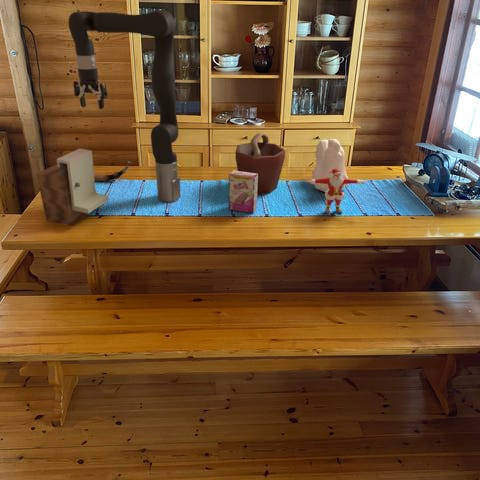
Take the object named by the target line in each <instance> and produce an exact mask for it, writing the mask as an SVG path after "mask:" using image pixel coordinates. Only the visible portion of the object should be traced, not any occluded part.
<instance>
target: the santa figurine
mask: <svg viewBox="0 0 480 480" xmlns="http://www.w3.org/2000/svg"><path fill="white" fill-rule="evenodd" d="M331 172H333V173H332V174H333V177H330V178H323V179H313V178H312V179H309V180H305V182H304V183H308V184H311V185H312V184H313V185H314V184H315V183H321V184H328V187H329V190H328V191H326V192H325V193H324V197H325V200H326V203H325V207H326V208H325V210H324V214H330V209H331V207H332V204H333V203H334V202H335V203H334V207H335V213H337V214H342V213H343V210H341V208H340V207H341V203H342V200H343V199H344V198H345V192H343V191H342V190H343V189H344V188H343V186H344V184H348V185H350V184H351V185H352V184H356V185H361V184H362V185H365V183H367V182H366V181H365V180H360V179H358V178H357V179H354V178H348V179H347V178H342V177H341V176H340V175H341V171H340V170H339V169H333V170H332V171H331ZM331 172H329V173H331ZM342 188H343V189H342ZM341 189H342V190H341Z"/></svg>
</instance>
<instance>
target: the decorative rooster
mask: <svg viewBox="0 0 480 480" xmlns="http://www.w3.org/2000/svg"><path fill="white" fill-rule="evenodd" d="M314 155H315V166H314V169H313V170H312V172H311V173H312V179H323V178H330V177H333V174H332V173H333V172H331V171H332V170H333V169H339V170H340V171H341V175H340V176H341V177H342V178H347V179H349V177H348V175H347V170H346V167H345V166H346V165H345V151H344V148H343V147H342V146H341V143H340V142H339V140H338V139H336V138H330V139H329V140H328V139H321V140H319V141H318V143H317V145H316V149H315V154H314ZM329 172H331V173H329ZM313 186H314V188H315V189H317V190H319V191H320V192H326V191H328V190H329V187H328V184H321V183H315V184H313ZM347 186H349V184H344V186H343V188H342V189H341V191H342V190H343V189H344V188H345V187H347Z"/></svg>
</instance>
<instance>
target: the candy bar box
mask: <svg viewBox="0 0 480 480" xmlns="http://www.w3.org/2000/svg"><path fill="white" fill-rule="evenodd" d="M228 180H229V181H228V210H229V211H235V212H241V213H247V214H254V213H255V212H256V211H257V208H258V194H257V187H258V174H256V173H249V172H242V171H238V170H234V169H233V170H231V171H230V172H229V174H228Z"/></svg>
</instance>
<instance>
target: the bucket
mask: <svg viewBox="0 0 480 480" xmlns="http://www.w3.org/2000/svg"><path fill="white" fill-rule="evenodd" d="M260 139H262V142H261V141H260ZM269 142H270V141H269V136H268V135H267V134H264V133H256V134H255V135H254V136H253V137H252V138H251V140H250V142H248V143H247V142H246V143H242V144H237V146H236V149H235V164H236V167H237V168H236V169H237V171H242V172H249V173H256V174H258V187H257V195H266V194H267V195H269V194H271V193H273V192H274V191H275V190H276V189H277V188H278V184H279V181H280V177H281V173H282V170H283V166H284V162H285V158H286V149H284V148H283V147H282V146H281V145H278V144H277V143H272V142H270V143H269Z"/></svg>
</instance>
